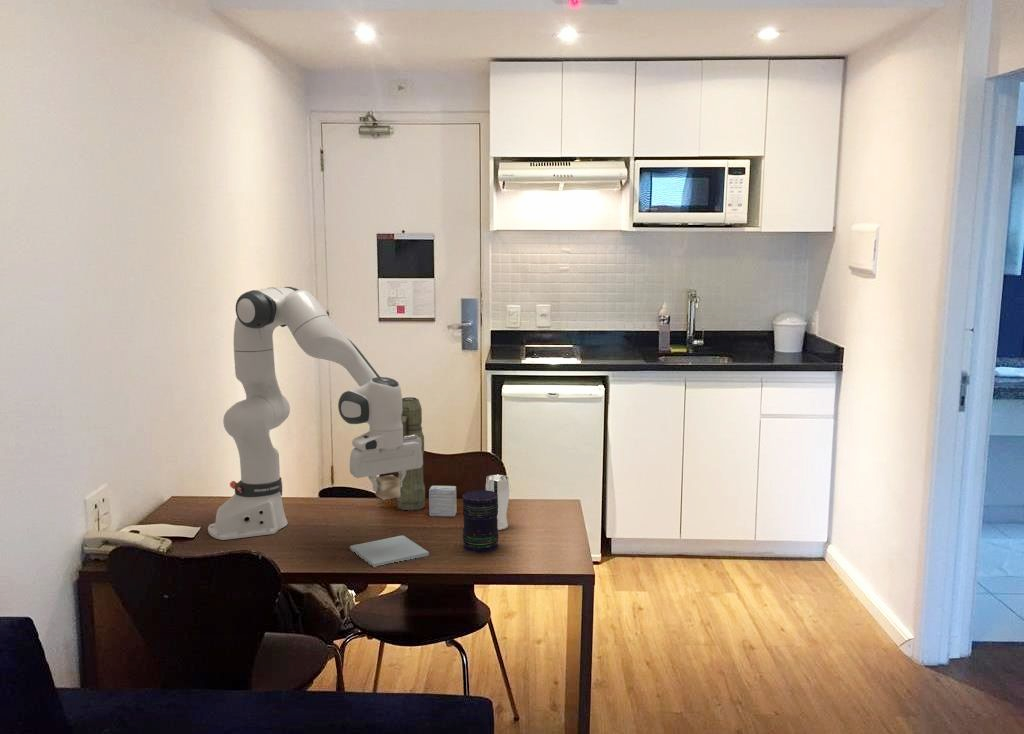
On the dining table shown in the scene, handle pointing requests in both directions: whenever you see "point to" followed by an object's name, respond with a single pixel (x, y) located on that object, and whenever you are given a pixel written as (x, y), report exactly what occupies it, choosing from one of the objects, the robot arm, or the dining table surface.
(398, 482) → the birch cube
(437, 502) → the medicine box
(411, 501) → the thermos
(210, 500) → the dining table surface
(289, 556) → the dining table surface
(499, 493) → the beer glass
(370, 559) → the mat
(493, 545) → the storage jar
